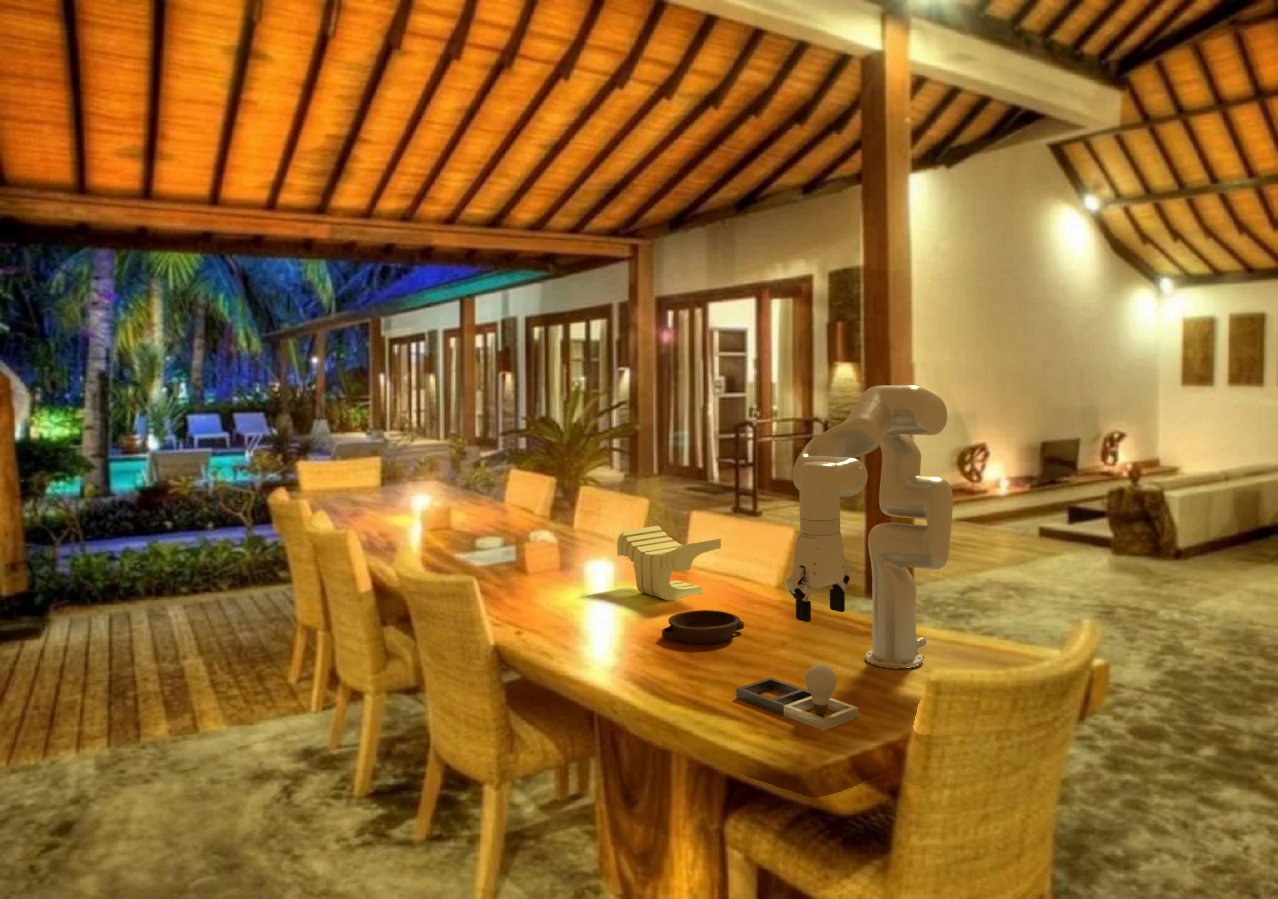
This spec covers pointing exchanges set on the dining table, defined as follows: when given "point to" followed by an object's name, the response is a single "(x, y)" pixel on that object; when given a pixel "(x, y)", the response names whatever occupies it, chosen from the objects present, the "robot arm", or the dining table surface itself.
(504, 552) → the dining table surface
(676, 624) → the dish
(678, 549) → the slatted curved stool
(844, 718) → the rail
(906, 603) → the robot arm
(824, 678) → the light bulb
